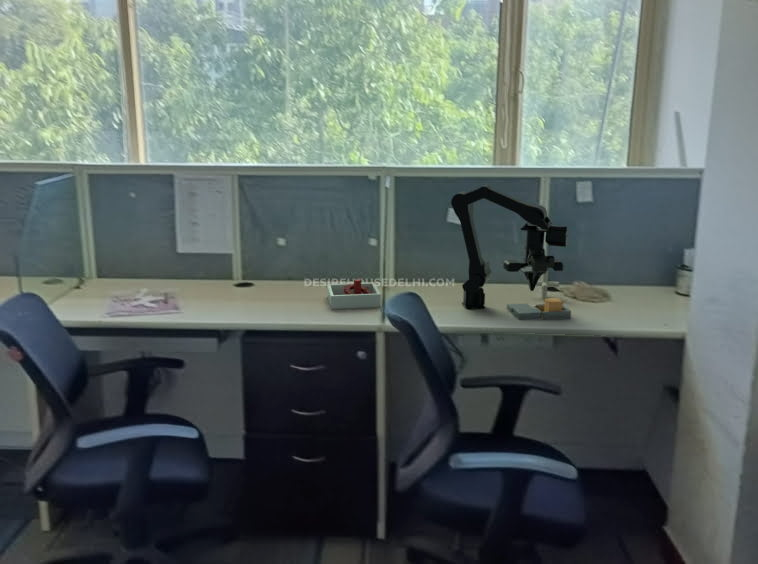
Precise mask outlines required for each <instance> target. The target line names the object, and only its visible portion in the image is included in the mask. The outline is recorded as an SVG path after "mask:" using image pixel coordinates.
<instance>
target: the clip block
mask: <svg viewBox="0 0 758 564" xmlns="http://www.w3.org/2000/svg"><path fill="white" fill-rule="evenodd" d="M544 304H545V306H544V311H562V305H563V301H562V300H561V299H560V298H559V297H557V298H555V297H553V298H552V297H551V298H544Z"/></svg>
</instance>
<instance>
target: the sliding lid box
mask: <svg viewBox="0 0 758 564" xmlns="http://www.w3.org/2000/svg"><path fill="white" fill-rule="evenodd" d="M544 306H545V303H544V304H543V303H542V304H534V307H532V306H530V307H531V308H513V313H512V315H513V316H514V317H515V318H516V319H517V320H535V319H542V320H544V321H545V320H561V319H563V320H565V319H567V320H568V319H571V318H572V317H571V316H572V310H570V309H569V308H568V307H566V306H565V305H563V304H562V311H544Z"/></svg>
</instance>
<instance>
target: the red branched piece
mask: <svg viewBox="0 0 758 564" xmlns="http://www.w3.org/2000/svg"><path fill="white" fill-rule="evenodd" d="M353 283H354V284H353ZM353 283H346V284H347V285H345V287H344V291H345V292H344V293H345V294H347V295H354V294H361V292H363V293H364V294H372V293H370V291H367V289H368V288H367V289H366V287H365V288H363V287H362V286H361V283H362V279H361V278H358V279H357V278H355V279H353ZM348 284H349V285H348ZM352 284H353V285H352ZM350 289H354V293H352V292H351V291H350Z"/></svg>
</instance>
